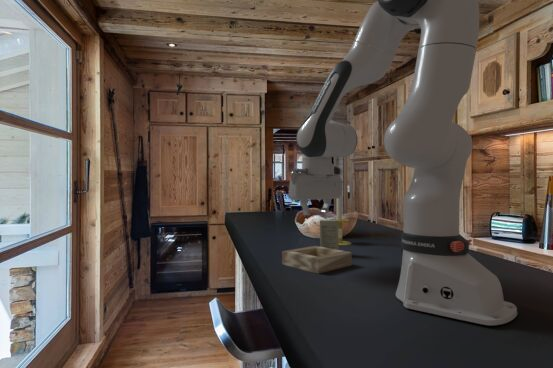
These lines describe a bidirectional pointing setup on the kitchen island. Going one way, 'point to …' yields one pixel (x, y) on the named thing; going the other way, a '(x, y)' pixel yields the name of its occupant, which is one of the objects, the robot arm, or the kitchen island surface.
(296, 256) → the wooden tray
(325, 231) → the skincare box
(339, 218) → the candle
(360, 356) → the kitchen island surface
